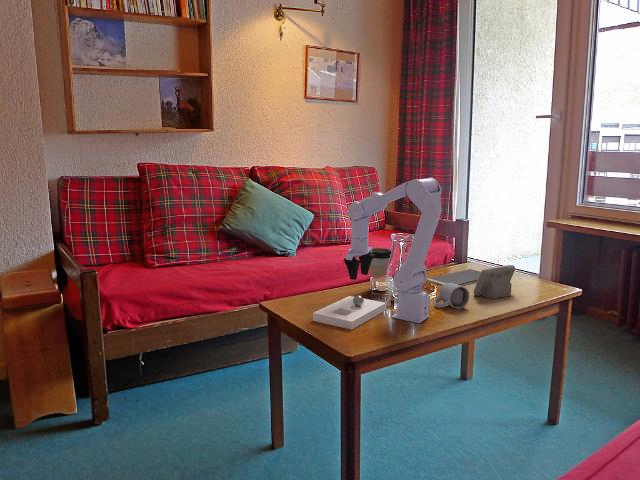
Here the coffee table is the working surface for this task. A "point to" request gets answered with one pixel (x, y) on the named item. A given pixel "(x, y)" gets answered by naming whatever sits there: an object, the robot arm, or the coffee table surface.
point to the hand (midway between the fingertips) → (358, 276)
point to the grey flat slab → (457, 278)
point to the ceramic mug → (452, 296)
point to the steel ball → (358, 300)
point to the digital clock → (495, 282)
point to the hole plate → (349, 313)
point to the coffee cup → (379, 262)
